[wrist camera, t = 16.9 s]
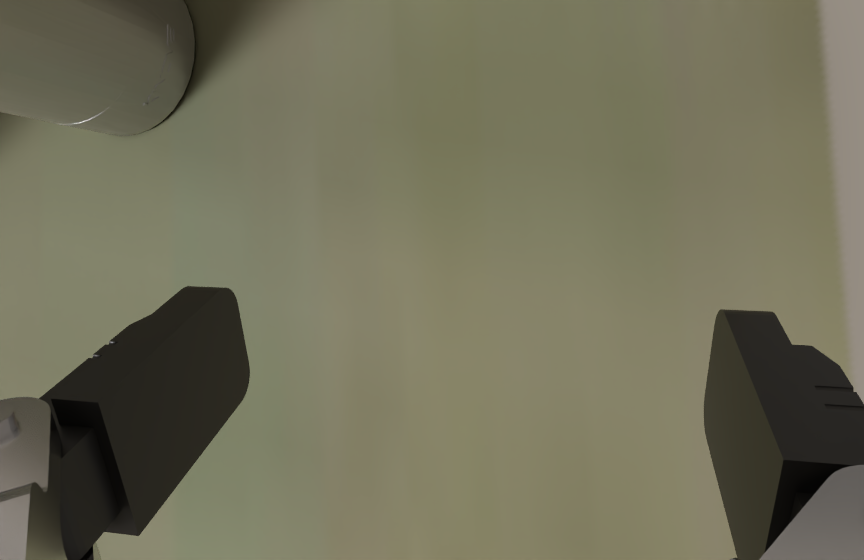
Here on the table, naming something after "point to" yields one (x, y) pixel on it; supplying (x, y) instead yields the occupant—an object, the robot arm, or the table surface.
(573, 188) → the table surface
